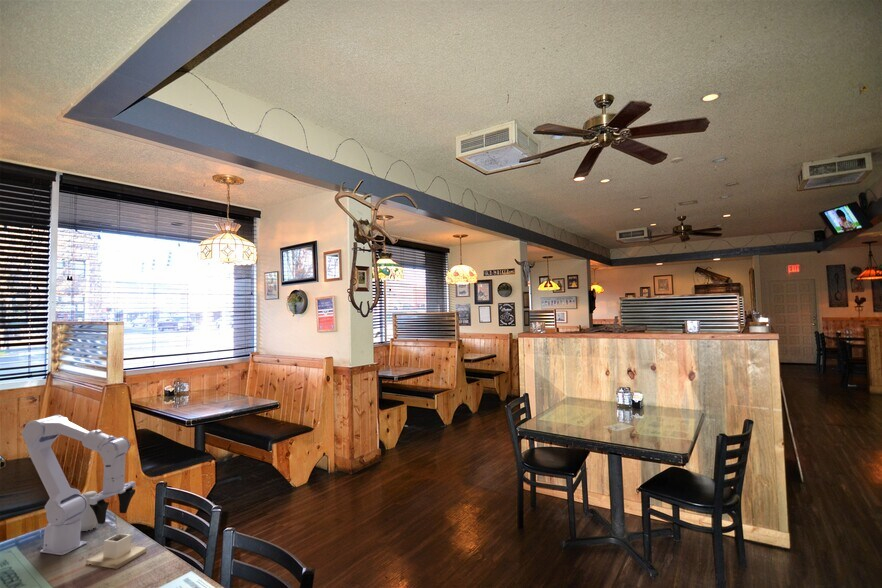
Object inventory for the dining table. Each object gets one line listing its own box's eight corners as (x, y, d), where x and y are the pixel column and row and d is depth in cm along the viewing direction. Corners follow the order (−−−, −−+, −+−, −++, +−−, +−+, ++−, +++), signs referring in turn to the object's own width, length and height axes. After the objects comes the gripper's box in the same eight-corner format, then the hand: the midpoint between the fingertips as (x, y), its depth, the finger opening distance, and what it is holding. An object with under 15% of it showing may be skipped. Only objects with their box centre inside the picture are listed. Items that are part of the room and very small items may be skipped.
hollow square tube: (103, 557, 136) (103, 540, 136) (118, 548, 141) (118, 533, 141) (116, 558, 135) (116, 542, 135) (130, 550, 140) (131, 534, 140)
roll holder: (86, 564, 134) (86, 543, 134) (116, 547, 144) (117, 528, 144) (117, 568, 131) (118, 547, 132) (146, 551, 141) (147, 532, 142)
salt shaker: (86, 533, 153) (87, 496, 154) (73, 532, 154) (74, 494, 155) (102, 526, 159) (103, 489, 159) (89, 524, 160) (91, 488, 160)
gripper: (102, 485, 136) (100, 529, 136) (143, 469, 151) (141, 509, 150) (84, 483, 138) (82, 527, 137) (126, 468, 152) (125, 507, 151)
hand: (112, 517), depth 144 cm, fingers open, 7 cm apart
